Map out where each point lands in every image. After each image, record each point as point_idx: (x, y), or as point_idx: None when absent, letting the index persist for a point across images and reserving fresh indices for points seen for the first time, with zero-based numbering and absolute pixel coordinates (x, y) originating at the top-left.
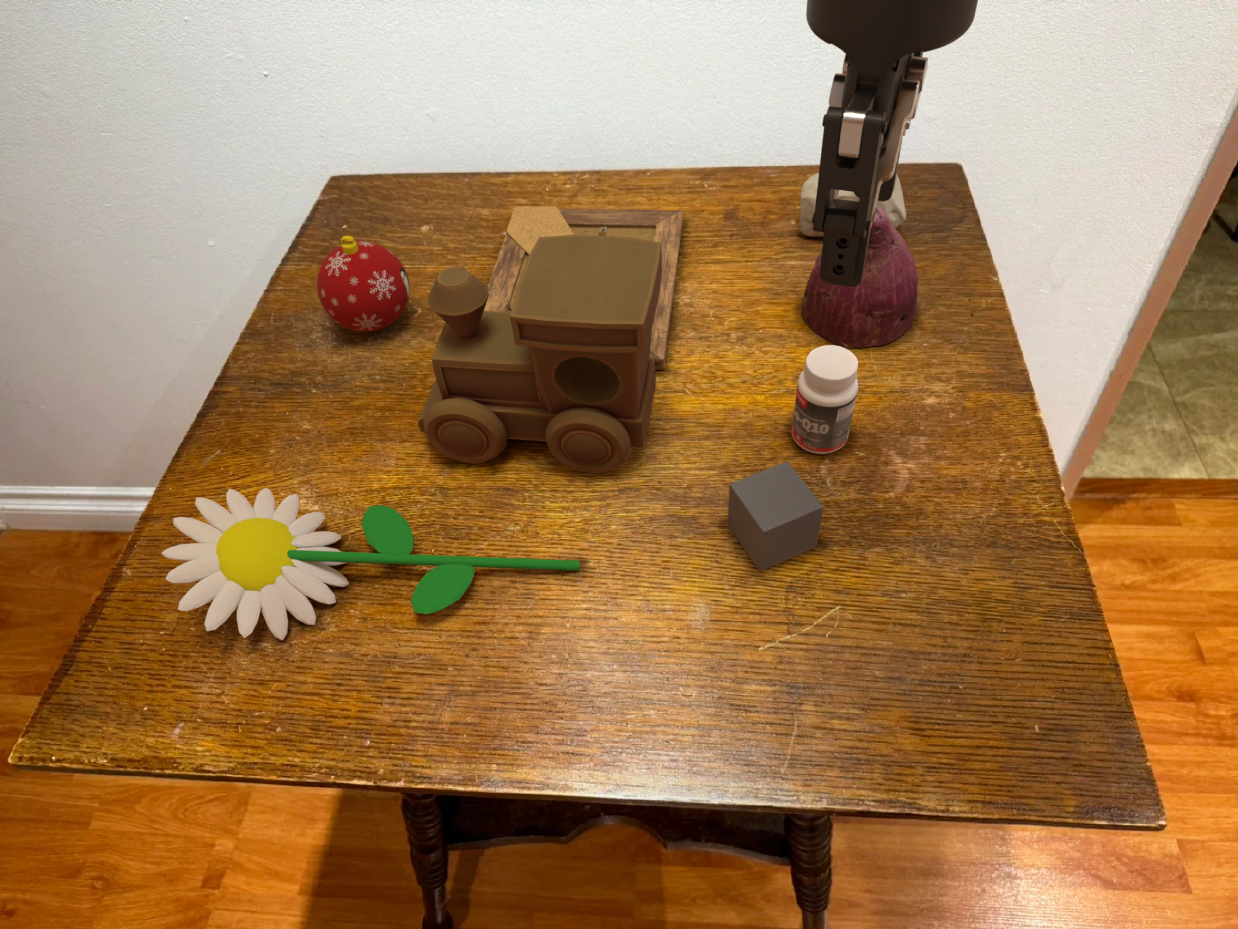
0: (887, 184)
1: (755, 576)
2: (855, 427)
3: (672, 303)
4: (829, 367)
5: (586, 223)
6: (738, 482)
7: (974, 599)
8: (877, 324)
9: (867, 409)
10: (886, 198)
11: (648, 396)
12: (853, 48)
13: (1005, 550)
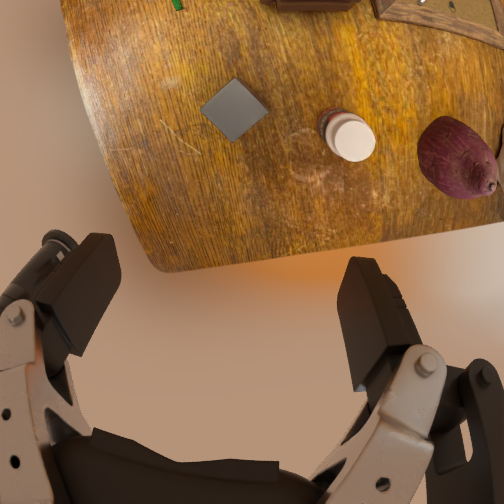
0: (342, 317)
1: None
2: None
3: (440, 29)
4: (348, 139)
5: None
6: (238, 82)
7: (227, 218)
8: (428, 167)
9: None
10: (338, 299)
11: (314, 5)
12: None
13: (264, 231)
